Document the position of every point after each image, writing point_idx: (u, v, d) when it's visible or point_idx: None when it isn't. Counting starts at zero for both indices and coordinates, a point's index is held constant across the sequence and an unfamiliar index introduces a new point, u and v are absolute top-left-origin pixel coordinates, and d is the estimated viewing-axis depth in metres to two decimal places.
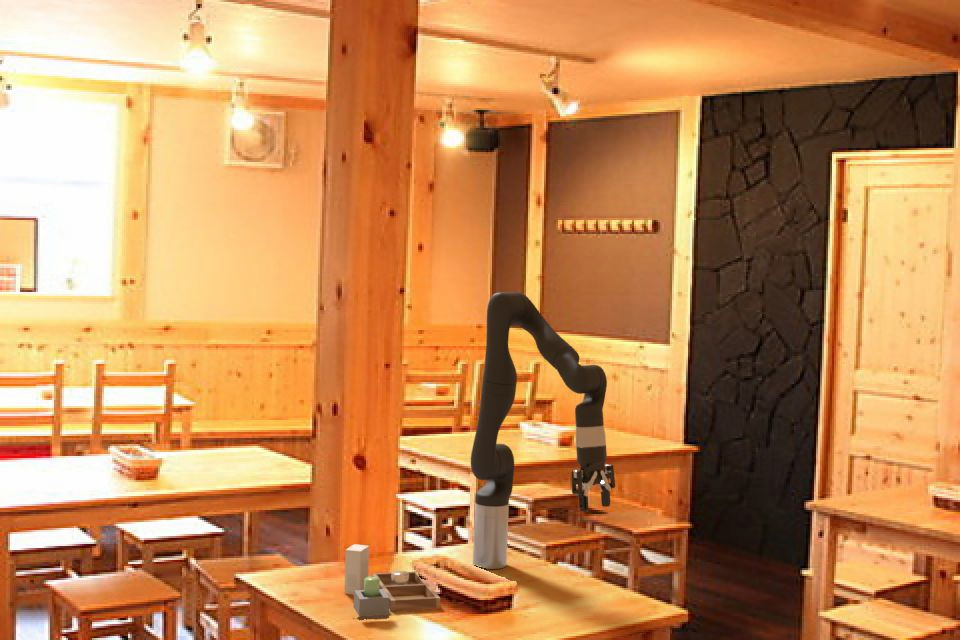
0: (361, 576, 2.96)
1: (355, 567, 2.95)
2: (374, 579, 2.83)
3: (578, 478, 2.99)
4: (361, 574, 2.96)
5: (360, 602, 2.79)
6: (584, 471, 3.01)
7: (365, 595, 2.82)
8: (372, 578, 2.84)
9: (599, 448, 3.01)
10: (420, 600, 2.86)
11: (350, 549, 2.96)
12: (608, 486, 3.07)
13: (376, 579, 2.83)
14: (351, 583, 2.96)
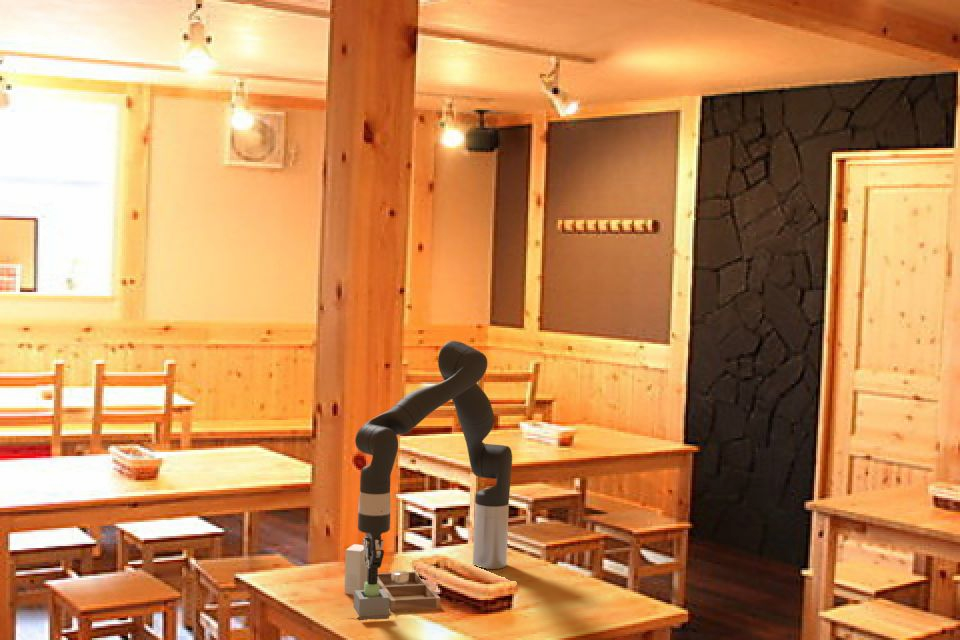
0: (361, 576, 2.96)
1: (355, 567, 2.95)
2: None
3: None
4: (361, 574, 2.96)
5: (360, 602, 2.79)
6: None
7: None
8: None
9: None
10: (420, 600, 2.86)
11: (350, 549, 2.96)
12: (368, 563, 2.82)
13: None
14: (351, 583, 2.96)
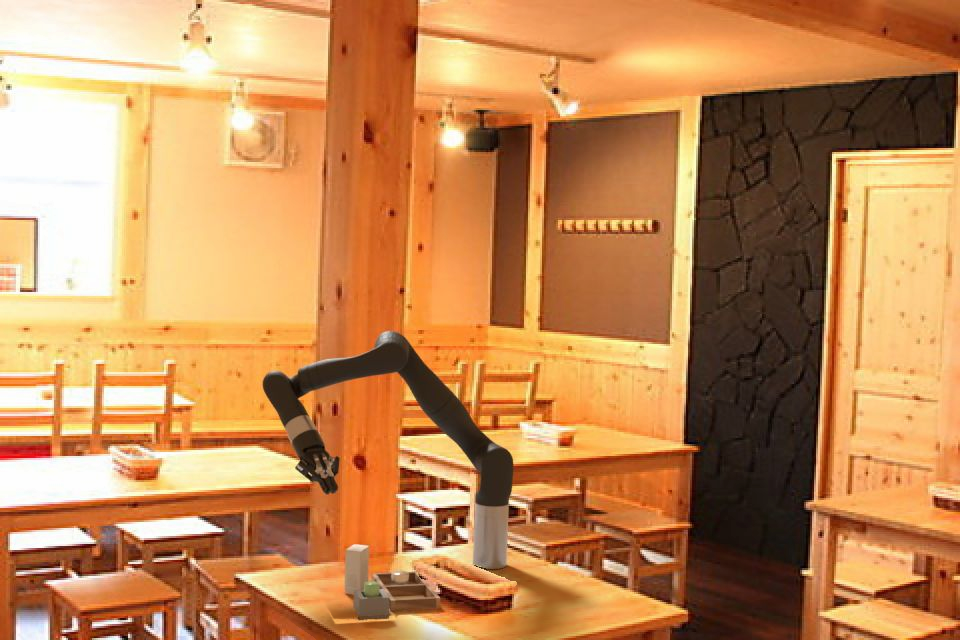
0: (361, 576, 2.96)
1: (355, 567, 2.95)
2: (374, 584, 2.83)
3: None
4: (361, 574, 2.96)
5: (360, 602, 2.79)
6: None
7: None
8: (372, 583, 2.84)
9: None
10: (420, 600, 2.86)
11: (350, 549, 2.96)
12: None
13: (376, 584, 2.83)
14: (351, 583, 2.96)
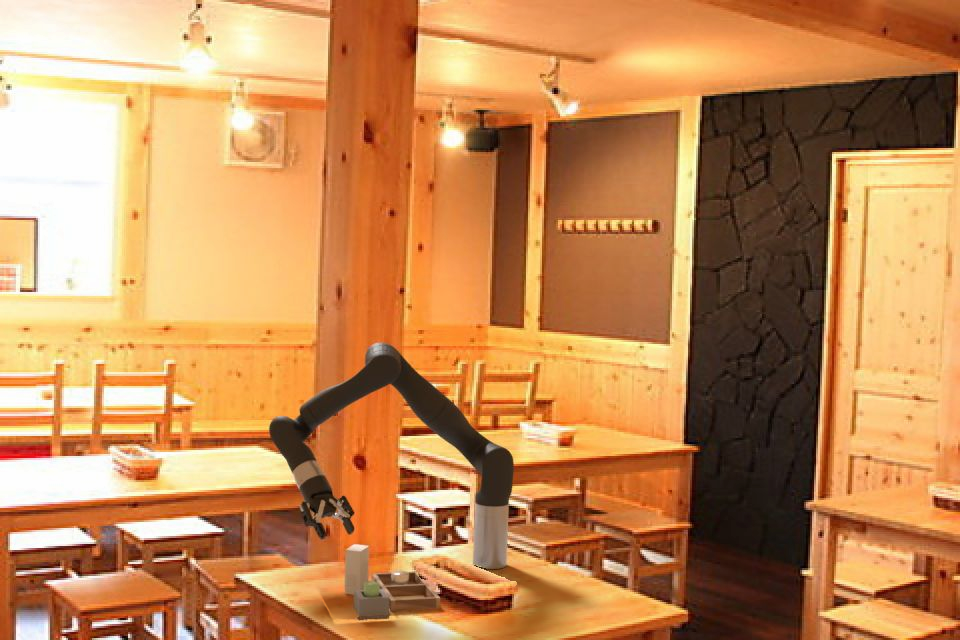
0: (361, 576, 2.96)
1: (355, 567, 2.95)
2: (374, 584, 2.83)
3: None
4: (361, 574, 2.96)
5: (360, 602, 2.79)
6: None
7: None
8: (372, 583, 2.84)
9: None
10: (420, 600, 2.86)
11: (350, 549, 2.96)
12: None
13: (376, 584, 2.83)
14: (351, 583, 2.96)
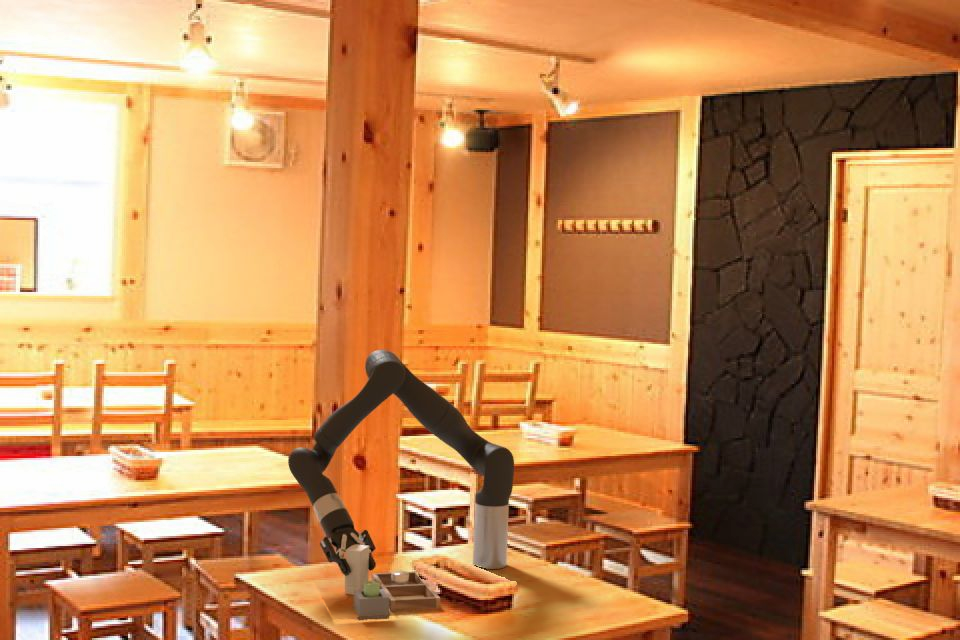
0: (361, 576, 2.96)
1: (355, 567, 2.95)
2: (374, 584, 2.83)
3: None
4: (361, 574, 2.96)
5: (360, 602, 2.79)
6: None
7: None
8: (372, 583, 2.84)
9: None
10: (420, 600, 2.86)
11: (350, 549, 2.96)
12: None
13: (376, 584, 2.83)
14: (351, 583, 2.96)
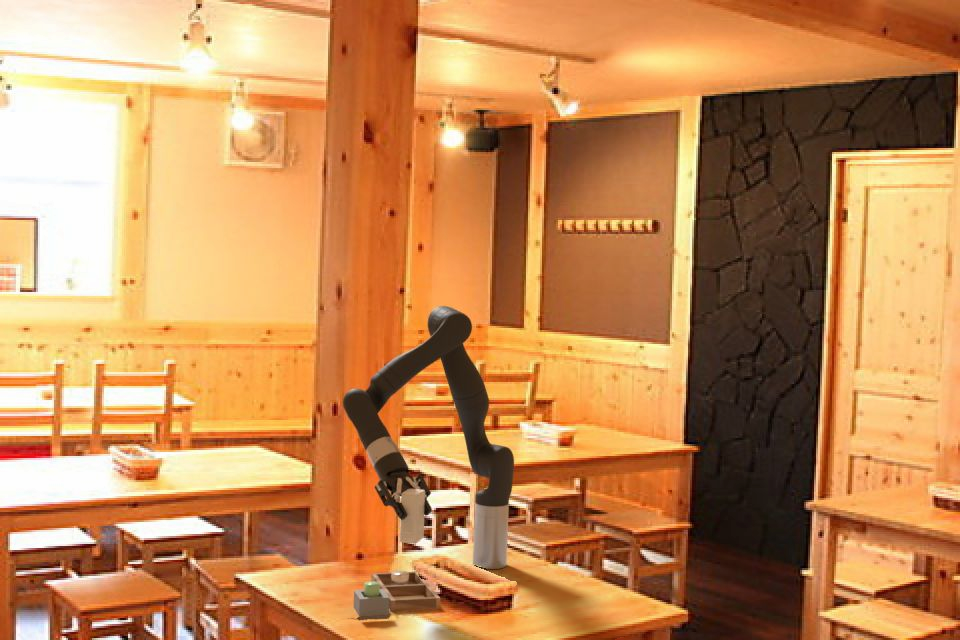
0: (417, 520, 2.88)
1: (411, 511, 2.87)
2: (374, 584, 2.83)
3: None
4: (417, 518, 2.88)
5: (360, 602, 2.79)
6: None
7: None
8: (372, 583, 2.84)
9: None
10: (420, 600, 2.86)
11: (406, 492, 2.88)
12: None
13: (376, 584, 2.83)
14: (407, 528, 2.88)
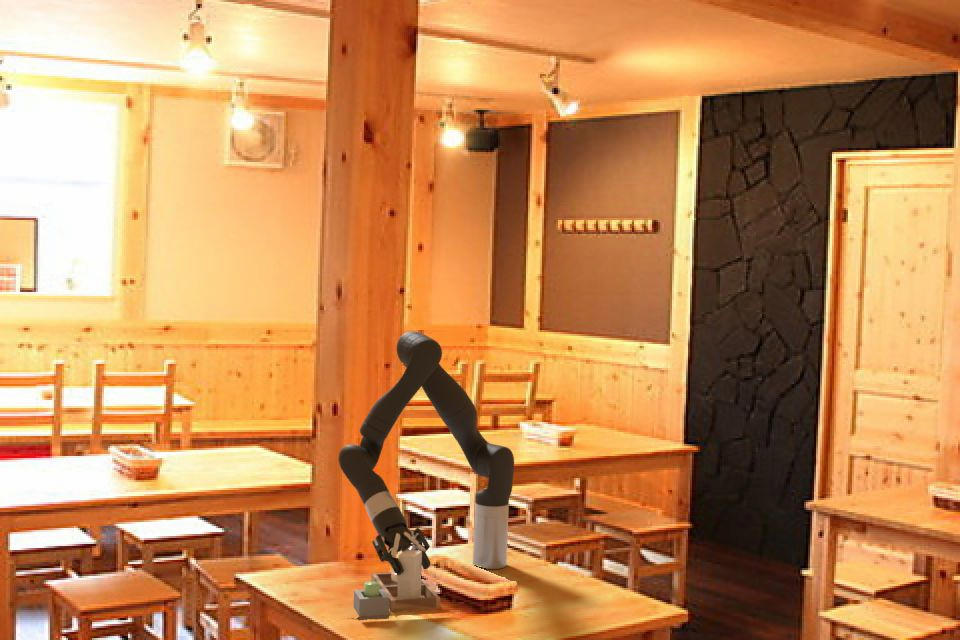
0: (414, 582, 2.89)
1: (408, 573, 2.88)
2: (374, 584, 2.83)
3: None
4: (414, 580, 2.88)
5: (360, 602, 2.79)
6: None
7: None
8: (372, 583, 2.84)
9: None
10: (420, 600, 2.86)
11: (403, 554, 2.89)
12: None
13: (376, 584, 2.83)
14: (404, 589, 2.89)
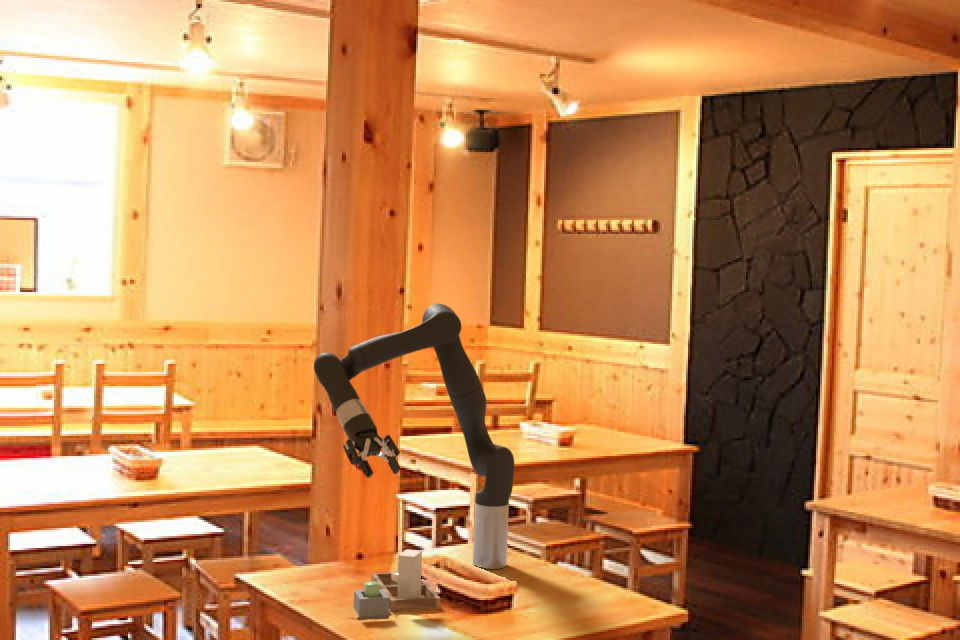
0: (414, 582, 2.89)
1: (408, 573, 2.88)
2: (374, 584, 2.83)
3: None
4: (414, 580, 2.88)
5: (360, 602, 2.79)
6: None
7: None
8: (372, 583, 2.84)
9: None
10: (420, 600, 2.86)
11: (403, 554, 2.89)
12: None
13: (376, 584, 2.83)
14: (404, 589, 2.89)
